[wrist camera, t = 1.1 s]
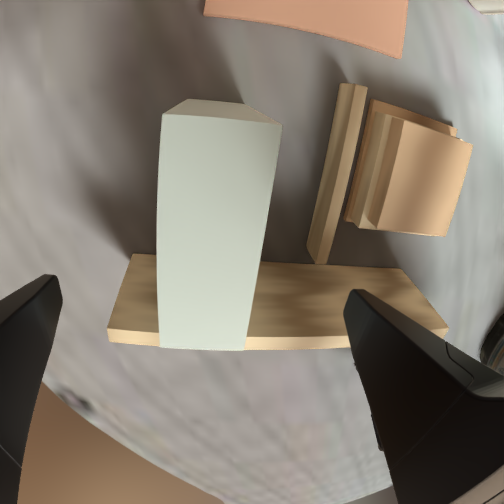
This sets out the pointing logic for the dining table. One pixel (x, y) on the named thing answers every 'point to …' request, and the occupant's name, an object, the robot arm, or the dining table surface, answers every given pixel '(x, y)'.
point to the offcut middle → (374, 170)
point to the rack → (292, 271)
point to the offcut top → (419, 180)
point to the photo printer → (488, 6)
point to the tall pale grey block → (211, 220)
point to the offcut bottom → (373, 107)
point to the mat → (327, 19)
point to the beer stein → (494, 348)
